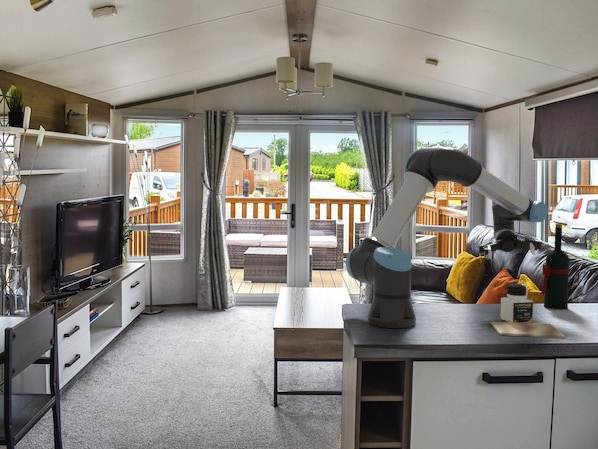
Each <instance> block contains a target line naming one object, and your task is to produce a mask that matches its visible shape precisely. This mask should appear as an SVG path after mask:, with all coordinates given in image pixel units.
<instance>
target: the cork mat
mask: <svg viewBox="0 0 598 449" xmlns="http://www.w3.org/2000/svg"><path fill="white" fill-rule="evenodd" d="M490 325H491V326H492V328H493V329H494V330H495V331H496V333H497V334H498V335H499V336H508V337H509V336H510V337H511V336H514V337H516V336H517V337H537V338H560V339H562V338H563V339H564V338H566V337H565V336H566V335H565V334H563V333H562V332H561V331H560V330H558V329H557V328H556V327H555V326H554V325H552V324H551V323H539V322H538V323H537V322H536V323H535V322H532V323H514V322H507V321H490Z"/></svg>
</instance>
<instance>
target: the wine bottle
mask: <svg viewBox="0 0 598 449" xmlns="http://www.w3.org/2000/svg"><path fill="white" fill-rule="evenodd" d="M562 234H563V224H562V223H555V228H554V250H551V251H550V252H548V253H547V255H546V258H545V264H542V268H541V269H542V272H541V275H542V276H544V277H543V282H542V289H541V291H540V294H539V296H543V307H544V308H545V309H549V310H557V311H559V310H560V311H561V310H562V311H564V310H568V308H569V304H568V303H569V279H570V278H569V276H570V257H569V255H568V254H567V253H566V252H565V251H563V250H562V243H563V242H562V241H563V240H562V238H563V237H562V236H563V235H562Z"/></svg>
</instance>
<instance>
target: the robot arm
mask: <svg viewBox="0 0 598 449" xmlns="http://www.w3.org/2000/svg"><path fill="white" fill-rule="evenodd" d="M403 178H404V181H403V184H402V186H401V187H400V188H399V190H398V192H397V193H396V195H395V197H394V198H393V199H392V202H391V203H390V205H389V207H388V208H387V209H386V211H385V213H384V215H383V216H382V217H381V219H380V221H379V222H378V224H377V226H376V228H375V229H374V231H373V233H372V234H371V236H366V237H364V238H363V240H362V242H361V244H360V246H356V247H353V248H352V249H351V250H349V252H348V253H347V255H346V258H345V268H346V271H347V273H348V275H349V276H350V277H351V278H352V279H353V280H356V281H357V282H359V283H364V284H368V285H371V286H373V297H372V301H371V304H370V307H369V310H368V312H367V323H368V324H369V325H372V326H374V327H377V328H378V327H379V328H387V329H405V328H410V327H414V326H415V325H416V324H417V323H416V322H417V317H416V314H415V309H414V306H413V303H412V300H411V298H412V297H411V296H412V295H411V294H412V293H411V292H412V267H413V264H412V256H411V254H410V252H409V251H407V250H405V249H403V248H399V247H396V245H397V243H398V242H399V240H400V238H401V236H402V235H403V233H404V231H405V230H406V228H407V227H408V225H409V223H410V221H411V220H412V218H413V217H414V215H415V213H416V211H417V210H418V209H419V206H421V203H422V202H423V200H424V198H425V197H426V195H427V194H429V193H432V192H434V190H435V188H436V187H437V186H438V183H439V182H450V183H456V184H458V185H461V186H462V187H464V188H468V187H470V188H471V189H473V190H474V191H476V192H478V193H479V194H481V195H482V196H484V197H486V198H487V199H489V200H491V211H492V212H491V213H492V222H493V226H492V227H493V232H492V233H493V239H494V241H495V242H493V241H492V240H489V239H488V240H487V241H486V242H484V243H482V244H479V245H478V253H479V254H482V253H484V256H488V258H492V252H495V251H501V252H504V253H510V252H511V253H512V252H513V251H514V250H523V249H524V250H529V251H530V253H531V255H533V256H535V255H536V251H538V250H539V251H541V250H542V241H539V240H533V239H530V238H528V237H525V238H523V240H522V239H519V238H518V236H517V235H516V232H515V231H516V230H515V222H526V223H527V222H528V223H542V222H544V221H545V220H546V219H547V217H548V214H549V212H548V211H549V210H548V206H547V203H545V202H544V201H539V200H533V199H531V198H529V197H527V196H526V195H524V194H523V193H522V192H520V191H518V190H517V189H515V187H512V186H511V185H509V184H508V183H506V182H505V181H504V180H502V179H500V178H499V177H497V176H496V175H494V174H493V173H491V172H489V171H488V170H486V169H485V168H484V167H483V164H482V163H481V162H480V161H478V160H477V159H475V157H472V156H471V155H469V154H468V153H465V152H463V151H462V150H459V149H458V148H454V147H449V146H442V147H441V146H440V147H431V148H430V147H429V148H428V147H425V148H420V149H417V150H413V151H412V152H411V153H410V154H409V155H408V157H406V160H405V162H404V174H403Z"/></svg>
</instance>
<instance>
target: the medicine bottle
mask: <svg viewBox="0 0 598 449" xmlns="http://www.w3.org/2000/svg"><path fill="white" fill-rule="evenodd" d="M506 287H507V289H506V297H505V296H504V297H501V298H500V315H499V316H500V317H499V318H500V320H503V321H504V322H514V323H533V318H534V316H533V314H534V313H533V310H534V301H533V300H532V299H527V298H528V286H527V284H523V283H514V282H513V283H509V284H507V286H506Z"/></svg>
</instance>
